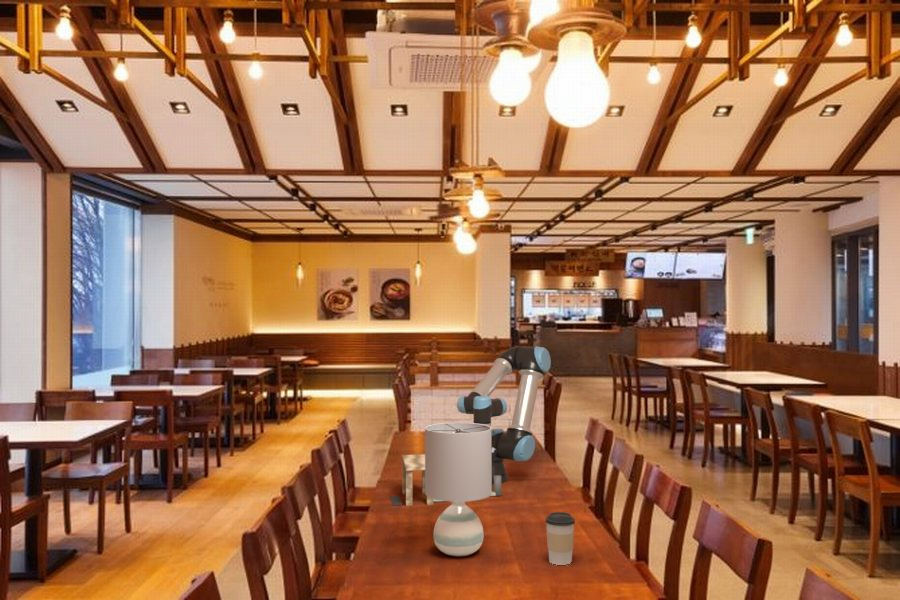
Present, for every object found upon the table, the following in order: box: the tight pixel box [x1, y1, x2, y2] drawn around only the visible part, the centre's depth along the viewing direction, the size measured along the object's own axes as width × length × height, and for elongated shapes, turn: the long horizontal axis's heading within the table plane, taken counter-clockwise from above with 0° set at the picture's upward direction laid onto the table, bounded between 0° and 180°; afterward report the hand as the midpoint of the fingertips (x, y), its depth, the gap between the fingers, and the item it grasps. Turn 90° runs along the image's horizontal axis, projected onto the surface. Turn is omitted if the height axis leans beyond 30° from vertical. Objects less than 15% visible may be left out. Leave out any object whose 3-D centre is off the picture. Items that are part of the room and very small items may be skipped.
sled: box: [433, 475, 502, 503], centre depth 307 cm, size 31×13×8 cm, turn 98°
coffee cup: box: [545, 511, 576, 566], centre depth 227 cm, size 9×9×15 cm
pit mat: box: [389, 495, 403, 506], centre depth 301 cm, size 4×14×1 cm, turn 8°
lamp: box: [424, 422, 493, 557], centre depth 237 cm, size 22×22×40 cm
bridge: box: [401, 453, 434, 507], centre depth 304 cm, size 11×24×16 cm, turn 8°
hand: (482, 489), depth 308 cm, fingers closed
